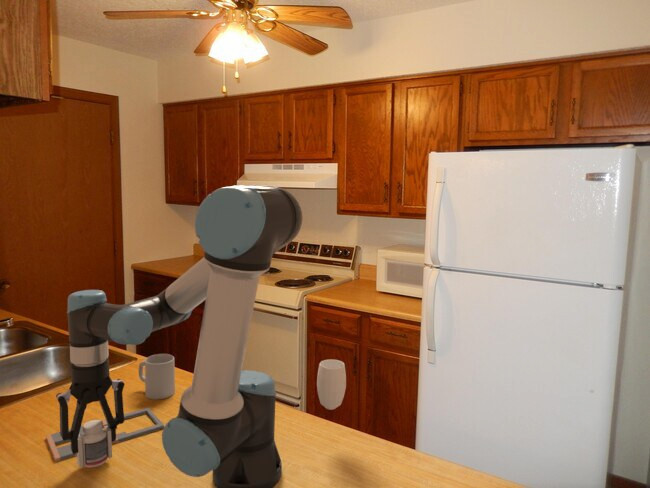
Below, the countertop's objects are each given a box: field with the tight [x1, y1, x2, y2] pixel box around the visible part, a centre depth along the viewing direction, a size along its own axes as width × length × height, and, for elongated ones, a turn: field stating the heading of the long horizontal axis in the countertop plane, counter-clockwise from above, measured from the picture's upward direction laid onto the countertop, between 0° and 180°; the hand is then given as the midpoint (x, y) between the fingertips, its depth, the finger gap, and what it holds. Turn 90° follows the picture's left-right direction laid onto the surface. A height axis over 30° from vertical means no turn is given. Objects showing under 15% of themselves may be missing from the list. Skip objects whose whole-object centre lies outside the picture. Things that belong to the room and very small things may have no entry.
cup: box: [316, 359, 347, 411], centre depth 115 cm, size 7×7×21 cm
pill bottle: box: [81, 419, 109, 469], centre depth 104 cm, size 5×5×9 cm
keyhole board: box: [45, 407, 165, 463], centre depth 118 cm, size 12×25×1 cm, turn 129°
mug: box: [138, 353, 176, 400], centre depth 141 cm, size 12×8×11 cm
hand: (94, 459), depth 104 cm, fingers closed on pill bottle, 5 cm apart
